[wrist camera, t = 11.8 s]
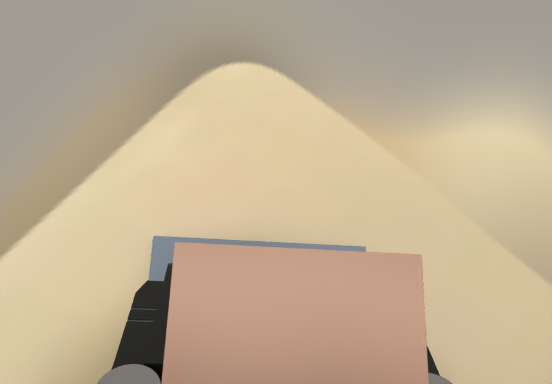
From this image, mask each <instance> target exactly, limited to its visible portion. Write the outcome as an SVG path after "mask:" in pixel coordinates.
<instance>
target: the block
mask: <svg viewBox="0 0 552 384" xmlns="http://www.w3.org/2000/svg"><path fill="white" fill-rule="evenodd" d="M162 384H429V379H428V361H427V343H426V325H425V307H424V289H423V271H422V255H417V254H397V253H378V252H358V251H339V250H320V249H300V248H281V247H262V246H242V245H223V244H203V243H184V242H175V247H174V257H173V268H172V278H171V289H170V299H169V310H168V320H167V331H166V341H165V352H164V362H163V373H162Z"/></svg>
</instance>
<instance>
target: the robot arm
mask: <svg viewBox="0 0 552 384" xmlns="http://www.w3.org/2000/svg"><path fill="white" fill-rule="evenodd" d="M172 268H173V263H168V266H167V270H166V274H165V278H164V281H148V280H147V281H146V283H145V284H144V285H143V286H142V287H141V288H140V289H139V290H138V291H137V292H136V294H135V297H134V300H133V303H132V306H131V310H130V313H129V316H128V321H127V323H126V326H125V329H124V332H123V335H122V339H121V342H120V345H119V348H118V351H117V355H116V358H115V361H114V364H113V367H112V369H111V371H109V372H108V373H106V374H105V375H104V376H103V377H102V378H101V379H100V381H99V382H98V384H162V373H163V362H164V352H165V341H166V331H167V320H168V310H169V299H170V289H171V278H172ZM427 361H428V379H429V384H452V383H451V382H450V381H448V380H447V379H445V378H443V377H441V376H440V375H439V372H438V370H437V368H436V365H435V363H434V361H433V358H432V356H431V354H430V351H429V349H428V347H427Z"/></svg>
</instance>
